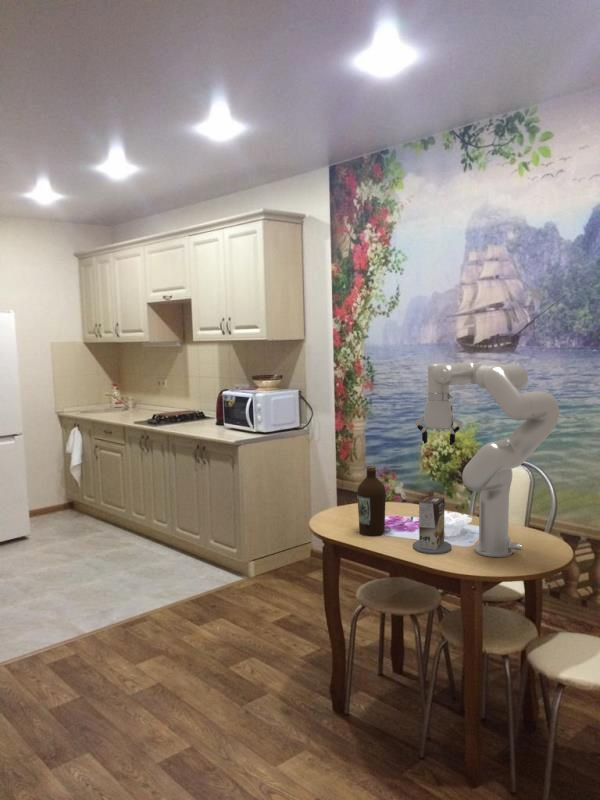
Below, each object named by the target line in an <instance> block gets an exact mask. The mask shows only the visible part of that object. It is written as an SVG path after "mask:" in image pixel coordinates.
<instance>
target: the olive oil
mask: <svg viewBox="0 0 600 800" xmlns="http://www.w3.org/2000/svg"><path fill="white" fill-rule="evenodd" d="M356 491H357V492H356V498H357V510H358V511H357V513H358V529H359V530H358V531H359V534H360V535H363V536H368V537H378V536H383V535H384V534H385V530H386V527H385V525H386V501H387V498H386V496H387V491H386V487H385V485H384V484H383V483H382V481H381V480H379V479H378V477H377V471H376V466H375V465H368V466H366V477H365V478H364V479H363V480H362V481H361V482H360V483H359V485H358V487H357V490H356ZM383 533H384V534H383Z"/></svg>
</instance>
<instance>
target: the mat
mask: <svg viewBox="0 0 600 800" xmlns="http://www.w3.org/2000/svg"><path fill="white" fill-rule="evenodd" d="M412 548H413V550H414V551H416V552H418V553H422V554H425V555H443V554H447V553H450V552H451V550H452V544H451V543H450V542H448V541H445V540H444V543H443V544H442V545H441V546H440V547H439V548H438V549H437V550H433V549H426V548H420V547H419V539H418V540H416V541H414V542H413V543H412Z"/></svg>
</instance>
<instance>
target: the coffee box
mask: <svg viewBox="0 0 600 800" xmlns="http://www.w3.org/2000/svg"><path fill="white" fill-rule="evenodd" d="M418 505H419V507H418V508H419V509H418V510H419V511H418V514H419V515H418V519H419V520H418V527H419V528H418V540H419V547H420V548H426V549H433V550H437V549H438V548H439V547H440V546H441V545H442V544H443V543H444V541H445V497H442V496H441V497H439V496H425V498H423V499H421V500H419V502H418Z"/></svg>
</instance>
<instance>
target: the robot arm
mask: <svg viewBox="0 0 600 800" xmlns="http://www.w3.org/2000/svg"><path fill="white" fill-rule="evenodd" d="M528 381H529V375H528V372H527V370H526V369H525V368H523V367H522V366H520V365H516V364H515V365H514V364H503V363H502V364H501V363H500V364H499V363H485V362H484V363H482V362H481V363H479V362H456V363H443V362H435V363H430V364H428V366H427V400H426V402H425V407H424V413H423V416H421V417H419V418H417V419H416V420H414V424H415V425H416V427H417V429H418V431H420V433H421V436H422V437H421V438H422V439H421V441H422V442H423V444H424V445H425V444H427V443H428V442H429V441H428V439H429V437H428V432H427V430H428V429H441V430H442V429H443V430H448V431H449V432H450V434H449V445H450V446H453V445H454V443H455V442H456V433H458V431H459V430H460V429H461V427H462V425H463V423H464V422H463V421H461V420H460V419H459V418H456V417H454V408H453V402H452V400H450V399H453V398H454V394H452V393H450V386H455V385H456V386H457V385H463V384H464V385H465V384H466V385H468V384H469V385H470V384H472V385H477V386H478V387H479V388H480V389H482V390H487V392H488V393H489V394H490V396H491V397H492V398H493V400H494V401H495V403H496V404H497V405H498V407H499V408H500V409H501V410H502V411H503V413H504V414H505V415H506V416H507V417H508V418H510V419H511V420H513V421H518V422H519V421H523V422H522V423H521V424H519V425H518V426H517V427H516V428H515V430H514V431H513V432H512V433H511V434H510V435H509V436H507V437H506V438H504V439H500V440H494V441H490V442H487V443H486V444H484V445H482V447H481V448H479V450H478V451H477V452H476V453H475V454H474V455H473V456H472V458H471V459H470V460H469V461H468V463H467V464H466V465H465V466H464V468H463V471H462V477H461V479H462V483H463V485H464V486H465V487H466V489H468V490H470V491H472V492H480V495H479V503H478V504H479V505H478V507H479V509H478V514H479V515H478V517H479V518H478V543H476V544H475V545H474V547H473V551H475V553H477V554H479V555H480V556H485V557H489V558H506V557H510V556H511V555H513V554H512V553H514V550H516V551H522V550H523V544H521V543H520V542H517V541H515V542H513V541H512V540H511V537H509V528H510V527H509V524H510V522H509V515H510V514H509V511H510V493H511V492H510V491H511V486H512V480H513V469H515V468H518V467H520V466H522V464H523V463H524V462H525V461H526V460H527V459H528V458H529V457H530V456H531V455H532V454H533V453H534V452H535V451H536V450H537V448H538V447H539V446H540V445H541V444H542V443H543V441H544V440H546V439H547V437H548V436H549V435H550V434H551V433H552V432H553V431H554V429H555V427H556V426H557V424H558V420H559V417H560V416H559V415H560V408H559V407H560V406H559V403H558V400H557V399H556V397H555V396H554V394H552V393H550V392H547V391H544V390H542V391H541V390H536V391H535V390H534V391H533V390H532V391H525V392H520V390H522V389H523V388H524V387H526V385H527V384H528ZM421 422H423V425H422V424H421ZM454 423H456V427H454ZM509 555H510V556H509ZM505 556H506V557H505Z"/></svg>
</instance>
